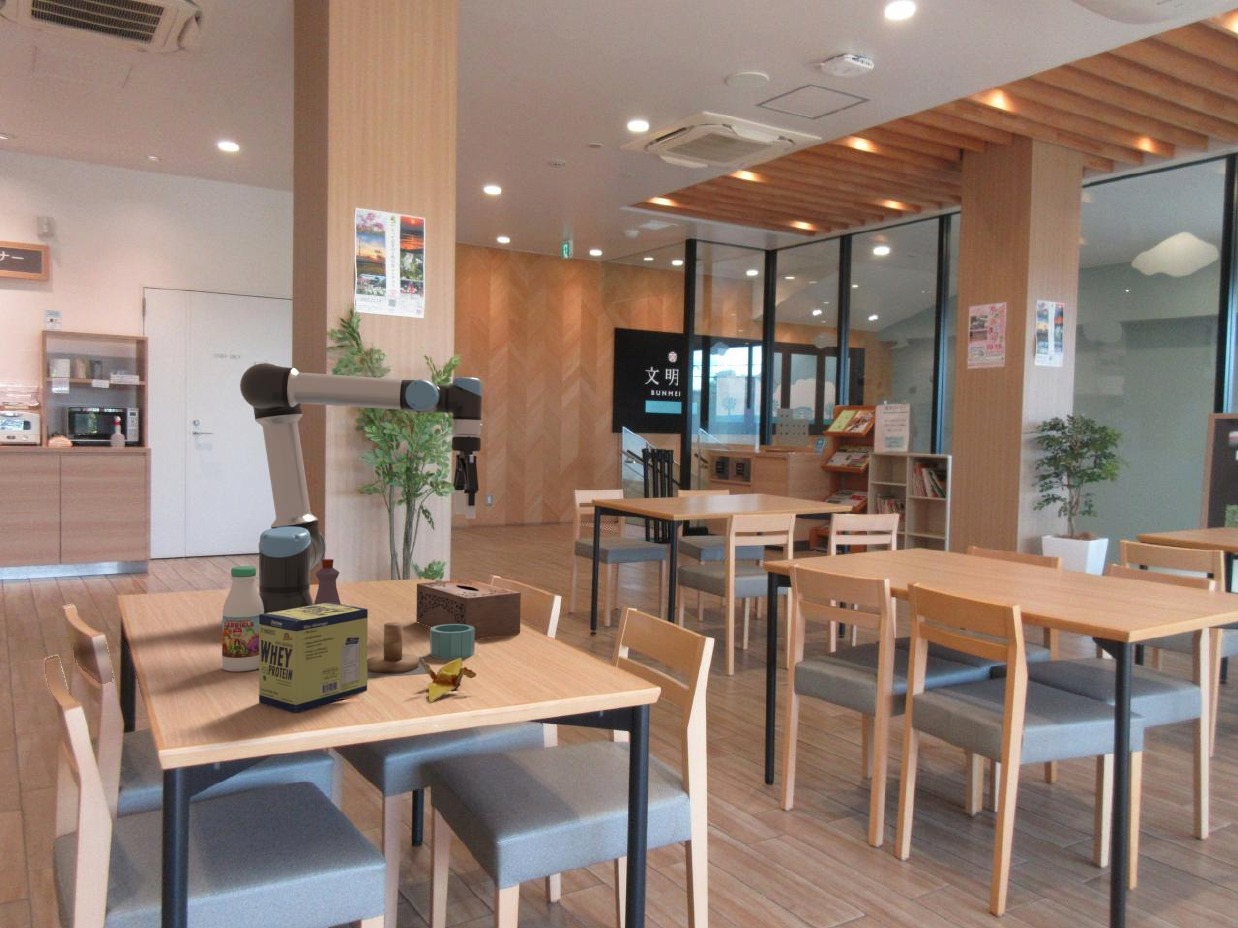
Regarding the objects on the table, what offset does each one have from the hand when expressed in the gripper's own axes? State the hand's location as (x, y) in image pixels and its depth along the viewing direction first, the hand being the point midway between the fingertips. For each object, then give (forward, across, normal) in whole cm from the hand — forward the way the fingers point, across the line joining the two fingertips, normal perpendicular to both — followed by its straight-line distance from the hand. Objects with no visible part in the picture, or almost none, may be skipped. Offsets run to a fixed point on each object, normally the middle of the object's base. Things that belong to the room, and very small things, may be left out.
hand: (464, 516), depth 237 cm
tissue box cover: (+26, -18, +3) cm, 32 cm away
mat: (+26, -54, +25) cm, 65 cm away
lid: (+25, -54, +25) cm, 65 cm away
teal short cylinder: (+26, -47, +12) cm, 55 cm away
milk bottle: (+26, -44, +53) cm, 73 cm away
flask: (+26, -36, +37) cm, 58 cm away
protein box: (+26, -70, +41) cm, 85 cm away
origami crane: (+26, -72, +18) cm, 78 cm away
